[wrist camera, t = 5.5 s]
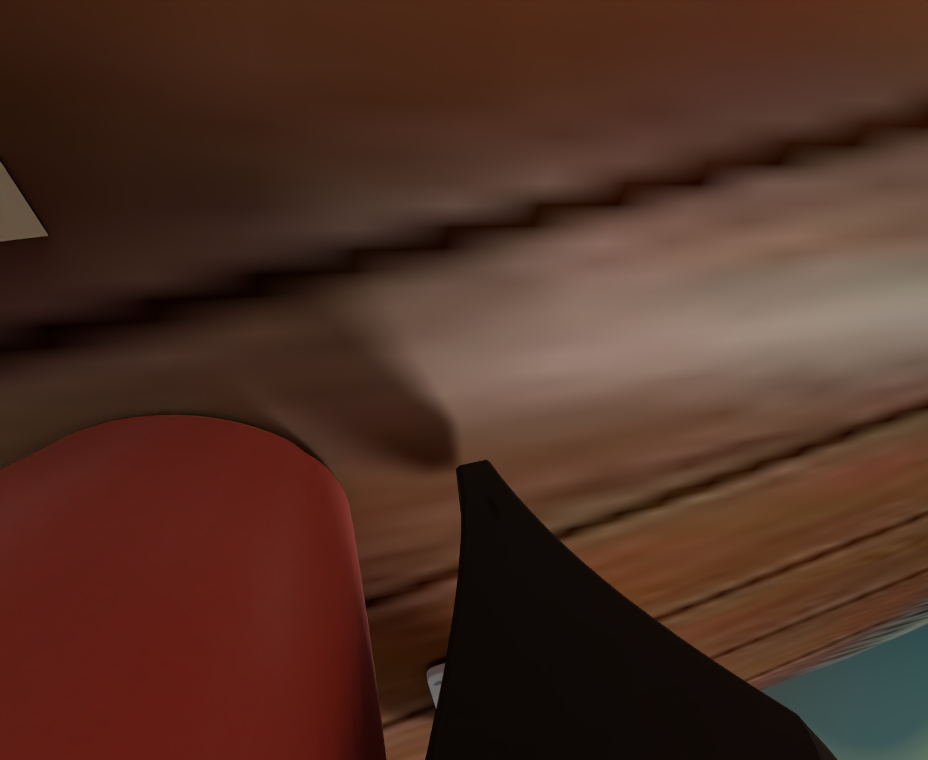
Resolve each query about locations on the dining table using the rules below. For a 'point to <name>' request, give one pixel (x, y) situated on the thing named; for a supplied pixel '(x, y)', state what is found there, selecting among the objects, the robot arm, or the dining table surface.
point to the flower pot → (181, 600)
